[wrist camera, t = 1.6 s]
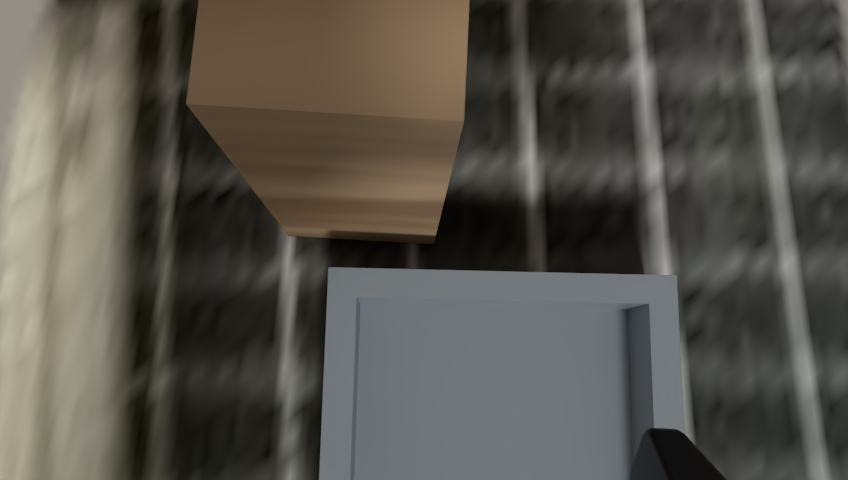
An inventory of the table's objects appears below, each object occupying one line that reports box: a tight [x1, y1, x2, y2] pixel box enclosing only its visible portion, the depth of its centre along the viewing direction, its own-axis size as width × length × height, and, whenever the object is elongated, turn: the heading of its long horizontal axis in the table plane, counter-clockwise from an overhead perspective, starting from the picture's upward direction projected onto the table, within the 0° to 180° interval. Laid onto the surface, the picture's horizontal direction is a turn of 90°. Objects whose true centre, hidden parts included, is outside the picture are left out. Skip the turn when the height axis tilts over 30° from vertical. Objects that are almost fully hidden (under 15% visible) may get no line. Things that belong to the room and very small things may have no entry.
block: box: [186, 0, 470, 244], centre depth 18 cm, size 4×4×11 cm
